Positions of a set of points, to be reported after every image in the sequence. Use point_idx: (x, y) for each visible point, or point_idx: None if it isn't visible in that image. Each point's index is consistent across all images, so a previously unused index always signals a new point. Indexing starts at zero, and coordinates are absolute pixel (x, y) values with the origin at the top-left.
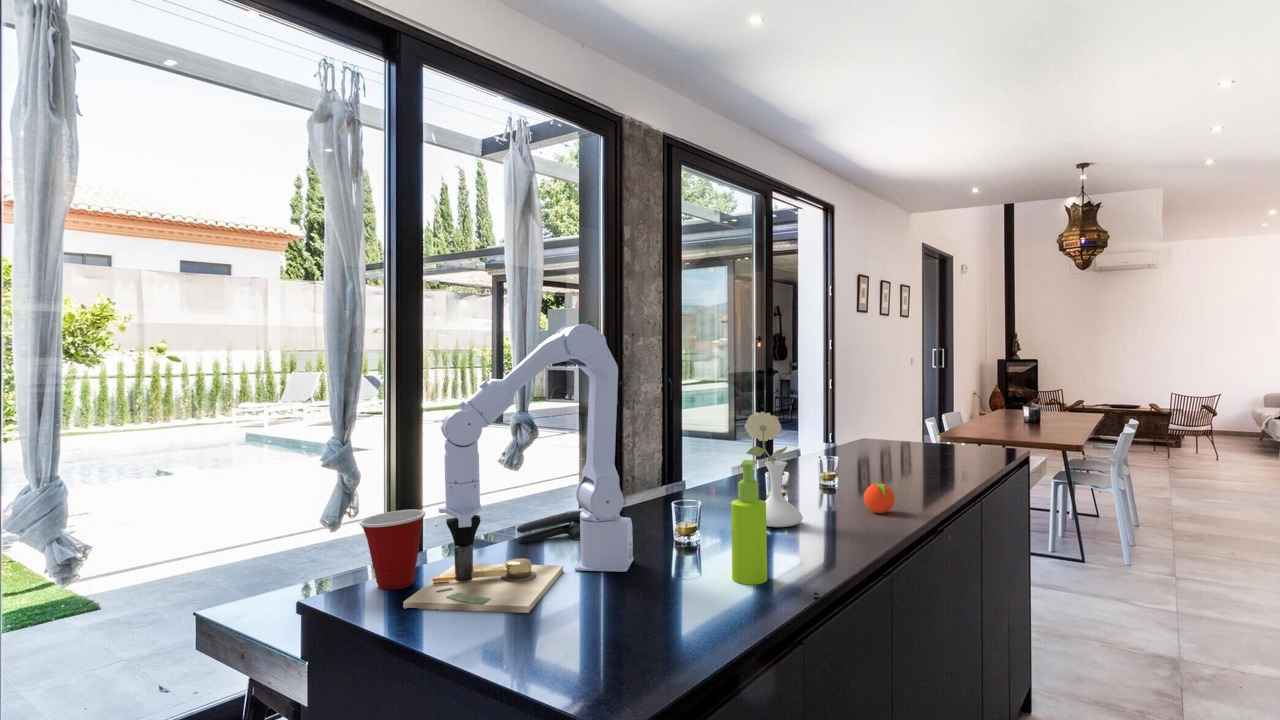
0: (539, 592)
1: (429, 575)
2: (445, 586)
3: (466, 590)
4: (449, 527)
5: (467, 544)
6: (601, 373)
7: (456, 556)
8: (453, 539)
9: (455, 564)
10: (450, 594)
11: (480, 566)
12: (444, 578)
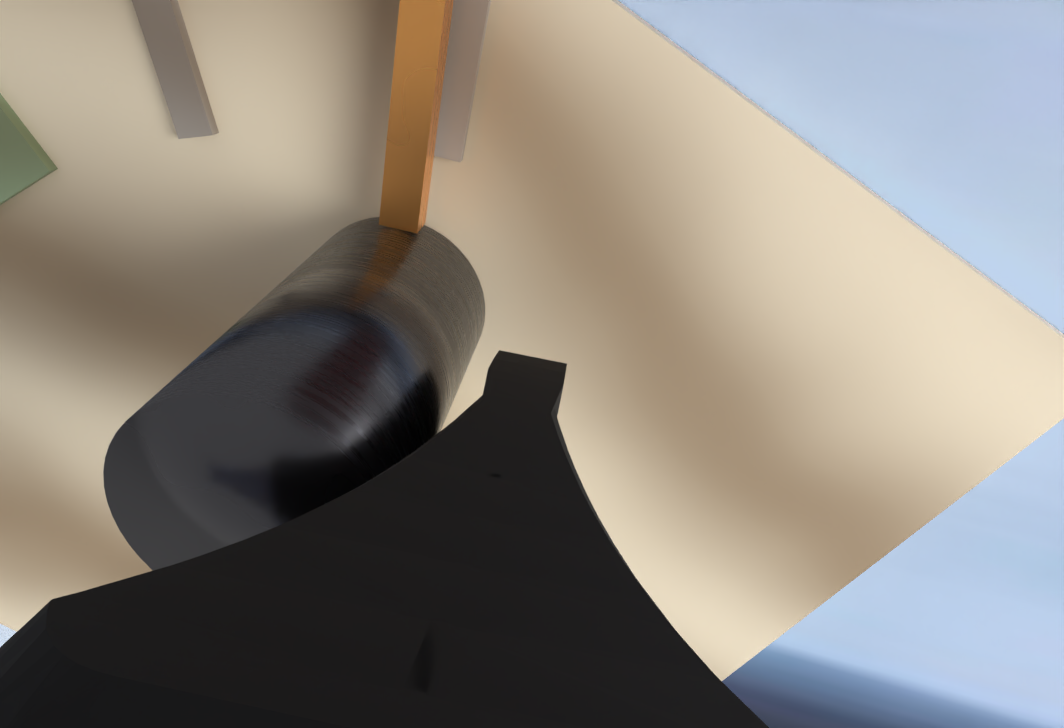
0: (1, 620)
1: (1058, 26)
2: (305, 89)
3: (131, 245)
4: (36, 619)
5: None
6: None
7: (224, 337)
8: (372, 478)
9: (303, 281)
10: (44, 84)
11: (797, 520)
12: (391, 110)
